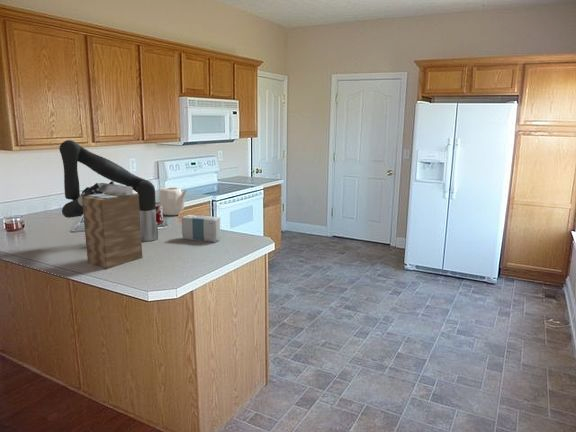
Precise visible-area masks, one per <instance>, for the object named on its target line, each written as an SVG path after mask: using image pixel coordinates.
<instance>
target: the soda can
mask: <svg viewBox="0 0 576 432" xmlns="http://www.w3.org/2000/svg"><path fill="white" fill-rule="evenodd" d="M155 211H156V222H157V223H158V225H161V224H163V223H164V213H163V208H162V206H161V205H160V203H159V204H158V203H156V204H155Z"/></svg>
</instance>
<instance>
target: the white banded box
mask: <svg viewBox="0 0 576 432" xmlns="http://www.w3.org/2000/svg"><path fill="white" fill-rule="evenodd" d="M216 207H217V205H215V206H213V207H211V208H208V209H205V211H204V210H203V211H202V212H200V213H198V214H187V215H183V216H182V218H181V235H182V239H184V240H191V241H192V240H193V241H201V240H203V242H211V241H216V242H217V241H219V240H220V239H221V217H219V216H210V215H209V216H208V215H202V214H204V213H206V212H208V211H210V210H212V209H213V208H216ZM218 239H219V240H218Z"/></svg>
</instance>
